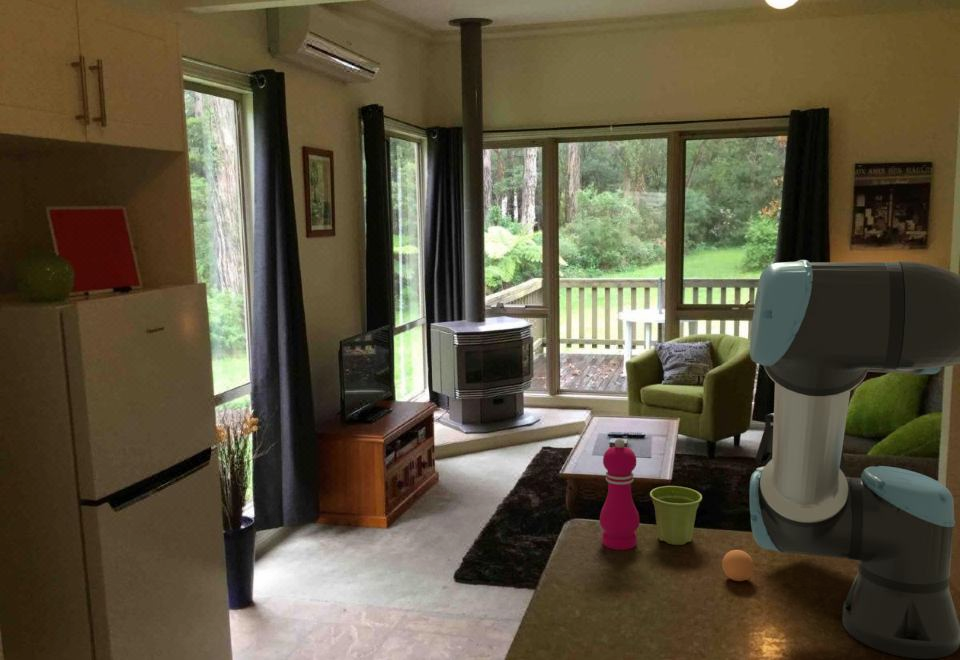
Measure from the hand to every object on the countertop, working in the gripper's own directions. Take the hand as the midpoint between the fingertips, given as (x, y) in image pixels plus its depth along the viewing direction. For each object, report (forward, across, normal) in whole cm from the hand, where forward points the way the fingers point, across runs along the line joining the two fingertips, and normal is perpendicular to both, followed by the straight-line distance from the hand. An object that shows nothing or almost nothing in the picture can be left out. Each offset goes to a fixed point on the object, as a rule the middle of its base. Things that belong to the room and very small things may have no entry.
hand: (798, 515), depth 141 cm
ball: (+5, 0, +15) cm, 16 cm away
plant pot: (+8, +18, +12) cm, 23 cm away
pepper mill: (+8, +22, +22) cm, 32 cm away
